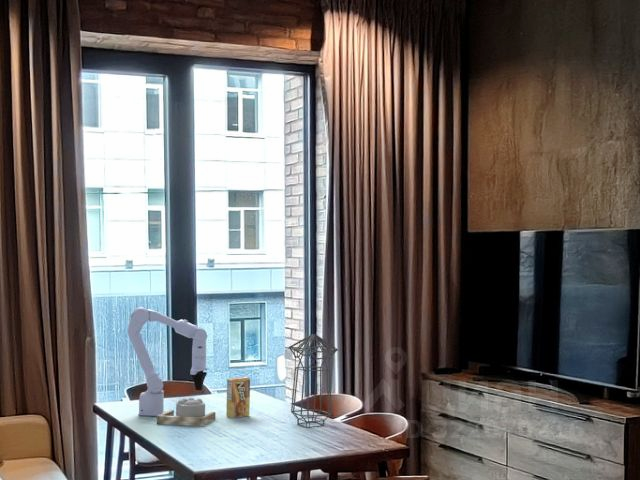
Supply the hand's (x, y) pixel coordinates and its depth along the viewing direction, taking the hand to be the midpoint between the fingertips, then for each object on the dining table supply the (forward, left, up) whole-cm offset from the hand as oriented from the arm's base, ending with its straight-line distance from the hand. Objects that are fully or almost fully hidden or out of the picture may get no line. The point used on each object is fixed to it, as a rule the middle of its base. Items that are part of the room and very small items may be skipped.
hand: (198, 389), depth 360 cm
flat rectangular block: (+2, -18, -9) cm, 20 cm away
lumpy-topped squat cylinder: (+3, -17, -10) cm, 20 cm away
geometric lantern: (+51, -12, -10) cm, 53 cm away
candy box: (+18, -3, -10) cm, 21 cm away
